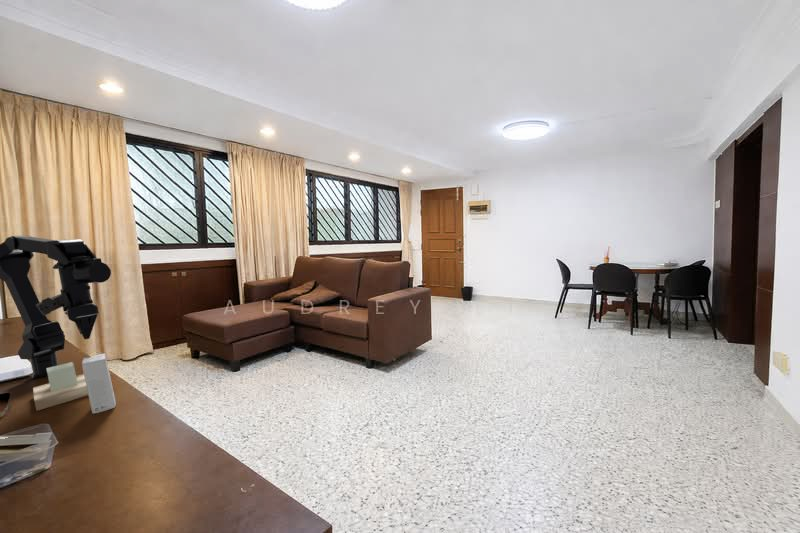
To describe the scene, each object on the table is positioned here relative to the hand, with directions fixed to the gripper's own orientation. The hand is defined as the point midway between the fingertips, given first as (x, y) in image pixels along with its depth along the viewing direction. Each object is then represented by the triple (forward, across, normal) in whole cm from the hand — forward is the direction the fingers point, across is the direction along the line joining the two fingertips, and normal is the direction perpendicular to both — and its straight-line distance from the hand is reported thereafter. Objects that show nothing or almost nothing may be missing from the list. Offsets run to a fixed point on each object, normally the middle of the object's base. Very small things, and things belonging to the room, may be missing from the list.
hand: (84, 336), depth 104 cm
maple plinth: (+12, +11, -6) cm, 18 cm away
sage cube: (+10, +11, -6) cm, 16 cm away
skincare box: (+12, +29, -1) cm, 31 cm away
